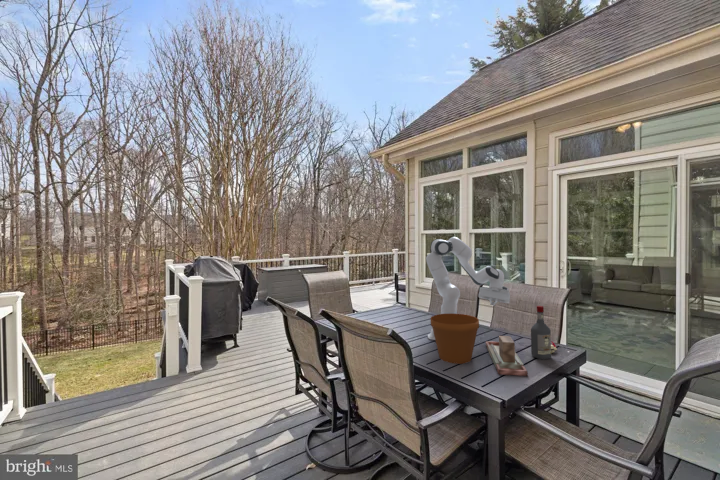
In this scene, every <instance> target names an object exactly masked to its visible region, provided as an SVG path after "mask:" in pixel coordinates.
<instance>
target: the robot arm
mask: <svg viewBox="0 0 720 480" xmlns="http://www.w3.org/2000/svg"><path fill="white" fill-rule="evenodd" d="M429 252H430V253H428V254H427V255H426V257H425V261H426V265H427V267H428V269H429V272H430V274H431V276H432V278H433V281H434V284H435V286H436V290H437V292H438V294H439V296H441V297H442V304H441V306H440V314H458V313H457V312H458V303H459V299H460V297H461V291H460V289H459V287H458V286H456V285H455V284H452V282H451V280H450V273H449V271H448V270H447V267H446V265H445V263H444V261H443V258H442V257H443V256H445V255H447V254H449V253H452V254H453V255H454V256H455V257H456V258H457V259H458V264H459V265H460V267H461V268H462V269H463V271H465V273H466V274H467V275H468V276H469V277H470V279H471V281H472V282H473V283H474V284H475V285H477V286H482V287H479V289H478V290H479V292H478V298H479V299H483V300H489V303H490V306H494V307H495V306H496V304H497V303H498V302H499V303H504V304H510V301H511V294H510V288H509V287H506V286H504V285H503V284H504V282H505V274H504V271H503V270H501V269H500V268H499V269H498V268H494V267H493V266H491V265H487V266H485V267H483V268H482V269H479V270H475V269H474V268H473V266H472V265H471V264H470V260H471V258H472V254H473V251H472V248H471V247H470V246H469V245H468V244H467V243H465V242H464V241H463V240H461V239H460V238H459V237H456V236H452V237H450V238H449V239H448V240H445V239H443V238H436V239H433V240H432V241H431V243H430V251H429ZM488 282H489V286H487V287H486V286H483V285H484V284H486V283H488ZM427 339H429V340H433V341H436V340H435V336H434V332H433V328H432V327H431V330H430V333H428V334H427Z"/></svg>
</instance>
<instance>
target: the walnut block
mask: <svg viewBox="0 0 720 480" xmlns="http://www.w3.org/2000/svg"><path fill="white" fill-rule="evenodd" d="M498 342H499V355H500V357H501V358H502V360H503V362H513V363H515V352H516V351H515V350H516V348H515V347H516V346H515V345H516V344H515V341H514V340H513V339H512V337H511V335H498Z"/></svg>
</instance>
